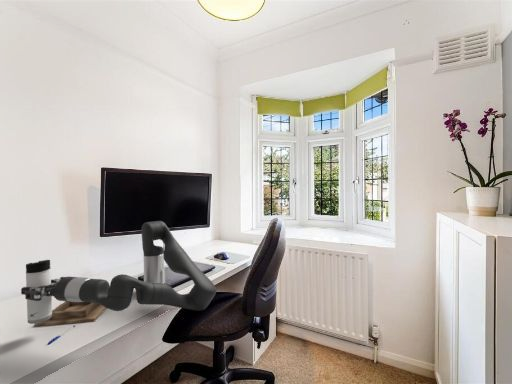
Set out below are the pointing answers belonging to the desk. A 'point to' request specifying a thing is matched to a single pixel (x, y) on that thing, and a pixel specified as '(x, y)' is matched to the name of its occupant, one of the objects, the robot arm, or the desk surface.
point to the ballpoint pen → (60, 335)
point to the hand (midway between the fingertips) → (33, 286)
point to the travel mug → (34, 278)
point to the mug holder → (74, 313)
